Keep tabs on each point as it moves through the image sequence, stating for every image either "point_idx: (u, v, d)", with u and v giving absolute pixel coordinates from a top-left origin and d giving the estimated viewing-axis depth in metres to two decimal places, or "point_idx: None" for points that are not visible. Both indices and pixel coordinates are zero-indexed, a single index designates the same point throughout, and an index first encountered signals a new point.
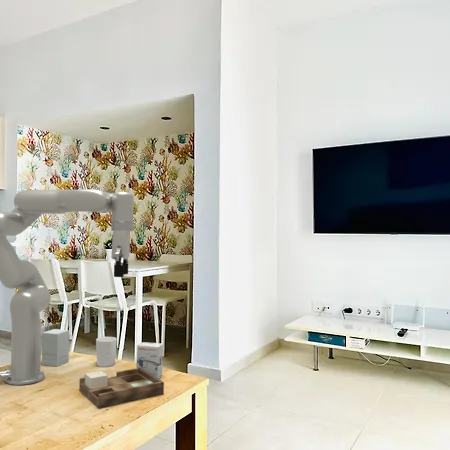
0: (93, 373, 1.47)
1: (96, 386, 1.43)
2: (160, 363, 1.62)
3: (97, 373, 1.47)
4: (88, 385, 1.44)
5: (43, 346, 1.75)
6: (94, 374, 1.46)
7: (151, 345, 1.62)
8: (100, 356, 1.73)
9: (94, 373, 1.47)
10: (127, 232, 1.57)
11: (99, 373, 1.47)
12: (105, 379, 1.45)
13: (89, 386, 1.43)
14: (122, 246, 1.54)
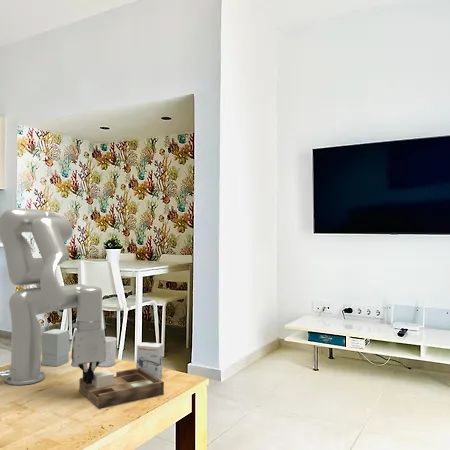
0: (99, 372, 1.48)
1: (102, 385, 1.44)
2: (160, 363, 1.62)
3: (103, 372, 1.48)
4: (94, 384, 1.45)
5: (43, 346, 1.75)
6: (100, 373, 1.47)
7: (151, 345, 1.62)
8: None
9: (100, 372, 1.48)
10: None
11: (105, 372, 1.48)
12: (111, 378, 1.46)
13: (95, 385, 1.44)
14: None
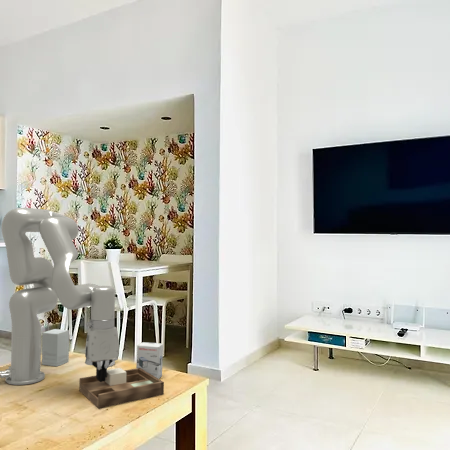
0: (112, 370, 1.50)
1: (115, 382, 1.47)
2: (160, 363, 1.62)
3: (116, 370, 1.51)
4: (108, 381, 1.47)
5: (43, 346, 1.75)
6: (113, 371, 1.49)
7: (151, 345, 1.62)
8: None
9: (113, 370, 1.51)
10: None
11: (117, 370, 1.51)
12: (124, 376, 1.48)
13: (109, 382, 1.46)
14: None
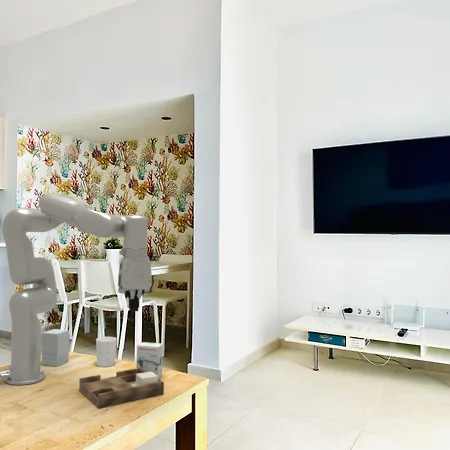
0: (144, 373, 1.48)
1: None
2: (160, 363, 1.62)
3: (147, 373, 1.48)
4: (139, 385, 1.44)
5: (43, 346, 1.75)
6: (145, 375, 1.46)
7: (151, 345, 1.62)
8: (100, 356, 1.73)
9: (145, 373, 1.48)
10: None
11: (149, 373, 1.48)
12: (155, 380, 1.45)
13: None
14: None
